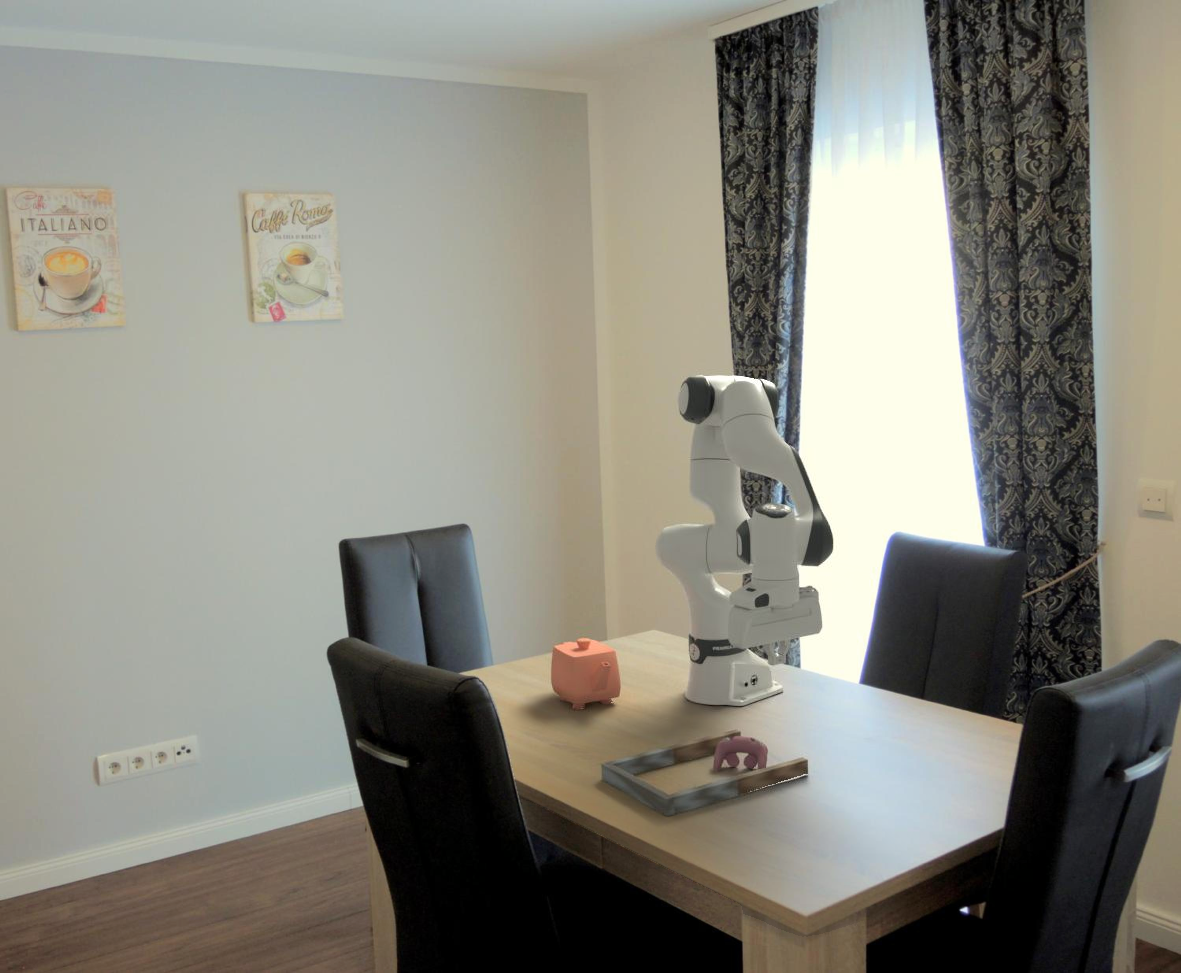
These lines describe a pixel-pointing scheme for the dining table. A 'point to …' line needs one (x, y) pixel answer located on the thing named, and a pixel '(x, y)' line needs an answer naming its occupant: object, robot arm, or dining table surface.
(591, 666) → the teapot
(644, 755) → the u-shaped rail frame
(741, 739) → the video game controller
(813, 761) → the dining table surface
